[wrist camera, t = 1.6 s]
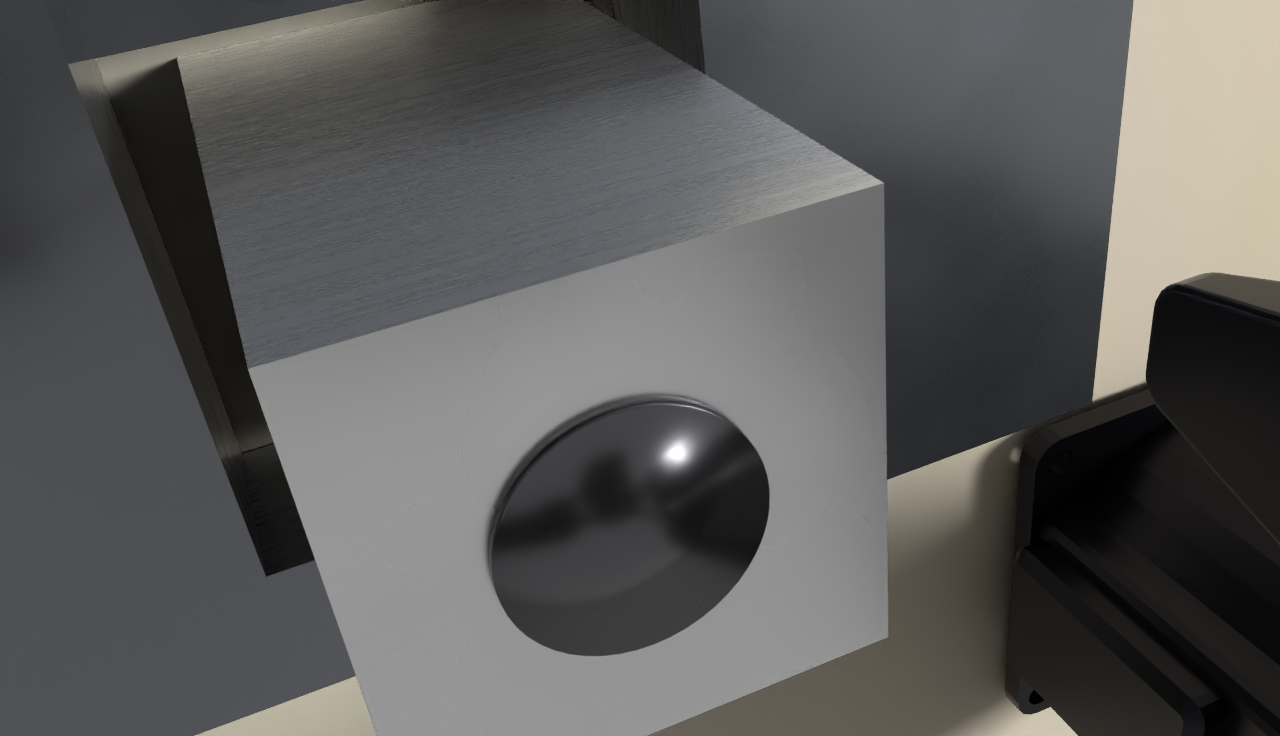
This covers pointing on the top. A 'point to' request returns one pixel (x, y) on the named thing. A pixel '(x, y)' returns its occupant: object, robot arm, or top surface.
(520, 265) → the small speaker box
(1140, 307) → the top surface
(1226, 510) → the robot arm
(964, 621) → the top surface
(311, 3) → the gray square hole plate
